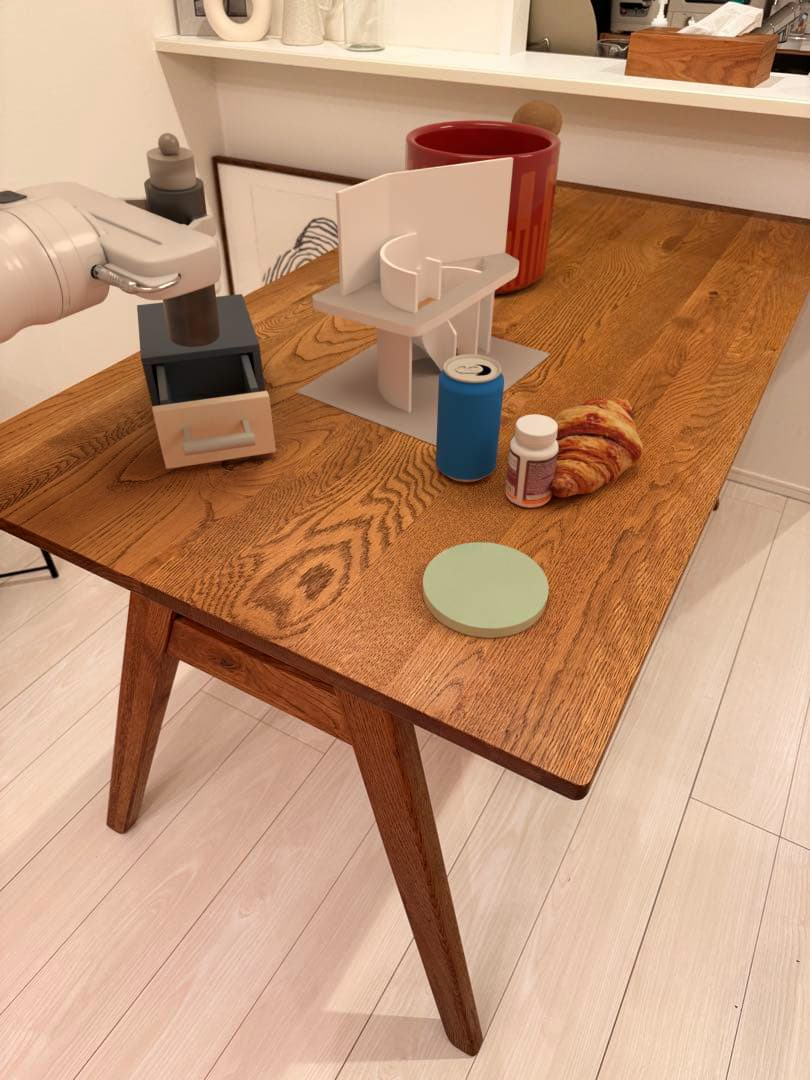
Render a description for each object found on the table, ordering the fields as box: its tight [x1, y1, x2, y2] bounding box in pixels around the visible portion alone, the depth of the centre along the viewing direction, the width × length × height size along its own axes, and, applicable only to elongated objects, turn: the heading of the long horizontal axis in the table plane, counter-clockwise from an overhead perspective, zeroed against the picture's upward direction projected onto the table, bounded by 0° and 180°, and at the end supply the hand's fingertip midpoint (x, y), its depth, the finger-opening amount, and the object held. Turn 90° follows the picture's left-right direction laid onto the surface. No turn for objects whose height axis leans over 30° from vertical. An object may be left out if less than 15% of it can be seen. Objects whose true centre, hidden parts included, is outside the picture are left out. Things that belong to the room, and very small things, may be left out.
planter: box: [404, 119, 562, 296], centre depth 119 cm, size 23×23×20 cm
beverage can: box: [435, 354, 504, 483], centre depth 78 cm, size 6×6×12 cm
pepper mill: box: [143, 132, 220, 347], centre depth 73 cm, size 5×5×19 cm
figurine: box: [511, 99, 563, 136], centre depth 141 cm, size 9×7×20 cm
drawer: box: [151, 353, 277, 470], centre depth 83 cm, size 18×12×7 cm, turn 17°
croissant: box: [549, 396, 644, 498], centre depth 82 cm, size 21×10×8 cm, turn 151°
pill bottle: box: [504, 413, 559, 508], centre depth 76 cm, size 5×5×8 cm
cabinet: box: [136, 293, 266, 408], centre depth 92 cm, size 15×13×9 cm
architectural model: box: [295, 157, 552, 447], centre depth 91 cm, size 28×21×23 cm
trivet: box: [421, 541, 550, 639], centre depth 67 cm, size 11×11×1 cm
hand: (185, 213), depth 71 cm, fingers closed on pepper mill, 5 cm apart
